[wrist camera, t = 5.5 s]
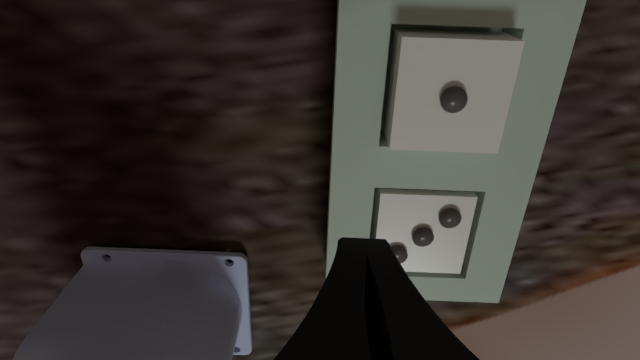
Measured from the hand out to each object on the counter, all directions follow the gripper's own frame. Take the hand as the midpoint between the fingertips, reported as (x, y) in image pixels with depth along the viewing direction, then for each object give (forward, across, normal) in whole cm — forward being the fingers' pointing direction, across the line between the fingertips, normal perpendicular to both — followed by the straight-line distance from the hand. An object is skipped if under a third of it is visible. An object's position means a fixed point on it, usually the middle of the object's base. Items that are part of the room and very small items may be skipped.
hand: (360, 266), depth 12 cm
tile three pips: (+9, -4, +4) cm, 11 cm away
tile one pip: (+9, -4, -3) cm, 10 cm away
